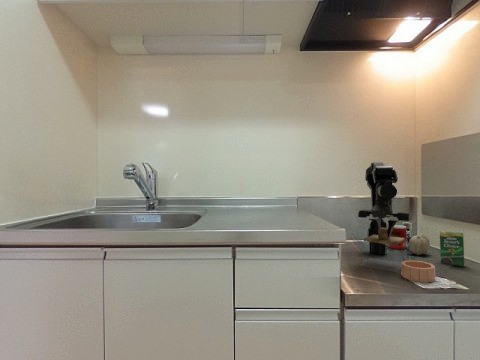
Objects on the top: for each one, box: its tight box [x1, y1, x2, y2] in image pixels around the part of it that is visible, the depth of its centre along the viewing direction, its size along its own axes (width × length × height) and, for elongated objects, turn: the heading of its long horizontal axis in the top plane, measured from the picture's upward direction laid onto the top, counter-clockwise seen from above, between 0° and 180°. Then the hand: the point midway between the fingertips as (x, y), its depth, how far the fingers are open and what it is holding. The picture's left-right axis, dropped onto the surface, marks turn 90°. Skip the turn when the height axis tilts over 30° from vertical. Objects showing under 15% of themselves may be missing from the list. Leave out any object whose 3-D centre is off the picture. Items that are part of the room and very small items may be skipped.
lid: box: [363, 227, 405, 245], centre depth 119 cm, size 12×12×5 cm
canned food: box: [388, 224, 407, 251], centre depth 149 cm, size 8×8×11 cm
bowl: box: [400, 259, 436, 283], centre depth 105 cm, size 10×10×5 cm
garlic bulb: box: [408, 233, 431, 256], centre depth 136 cm, size 9×8×10 cm
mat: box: [359, 257, 401, 273], centre depth 120 cm, size 14×14×1 cm
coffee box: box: [439, 231, 465, 268], centre depth 121 cm, size 8×3×13 cm, turn 51°
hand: (384, 236), depth 119 cm, fingers closed on lid, 3 cm apart
